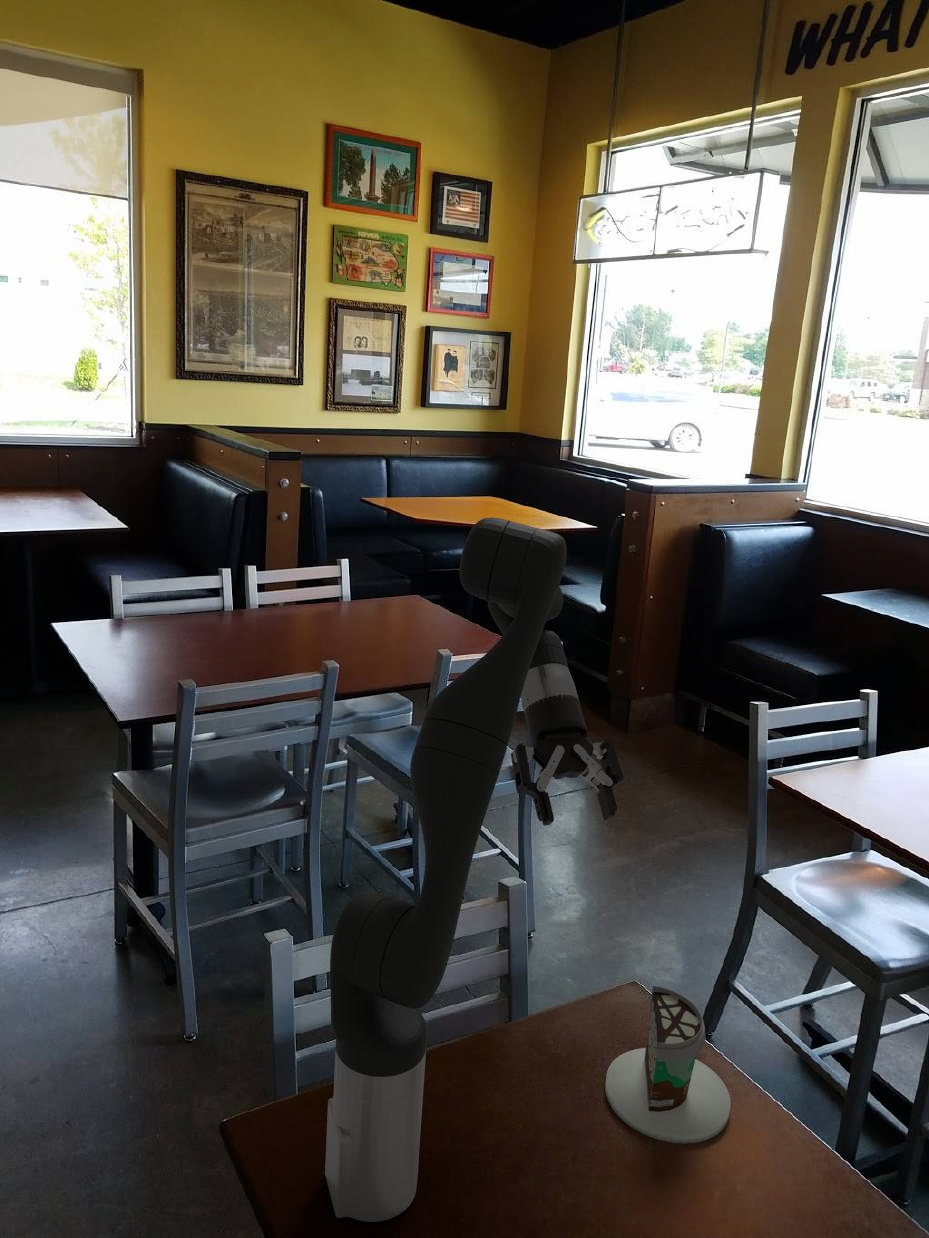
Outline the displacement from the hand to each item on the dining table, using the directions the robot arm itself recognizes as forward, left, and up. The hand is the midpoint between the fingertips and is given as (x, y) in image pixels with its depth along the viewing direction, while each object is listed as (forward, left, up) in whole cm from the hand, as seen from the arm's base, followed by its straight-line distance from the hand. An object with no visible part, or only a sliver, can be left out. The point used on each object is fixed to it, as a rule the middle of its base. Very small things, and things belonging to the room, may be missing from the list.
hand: (580, 820), depth 123 cm
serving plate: (+8, -15, -31) cm, 35 cm away
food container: (+9, -15, -30) cm, 34 cm away
